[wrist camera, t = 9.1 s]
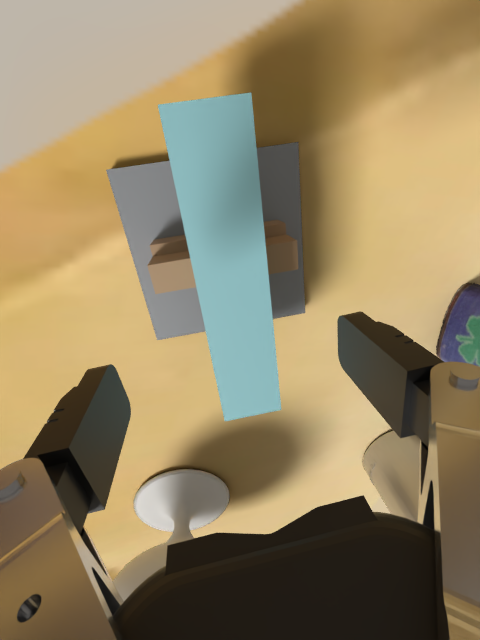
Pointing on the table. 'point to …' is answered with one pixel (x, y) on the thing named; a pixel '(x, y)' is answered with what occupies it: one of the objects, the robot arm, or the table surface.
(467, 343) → the flask
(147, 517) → the chalice
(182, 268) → the fulcrum
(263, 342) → the batten
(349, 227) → the table surface
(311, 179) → the table surface
